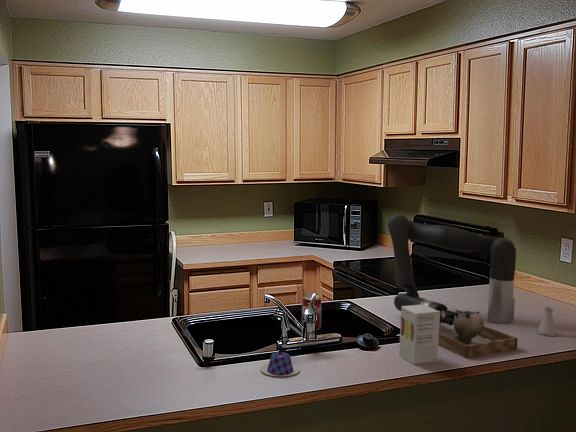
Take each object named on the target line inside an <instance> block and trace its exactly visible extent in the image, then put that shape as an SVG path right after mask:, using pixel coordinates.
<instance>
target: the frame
mask: <svg viewBox="0 0 576 432" xmlns="http://www.w3.org/2000/svg"><path fill="white" fill-rule="evenodd" d="M478 336H479V337H481V338H483V339H486V340H488V341H485V342H478V343H473V344H471V343H470V344H467V343H466V344H464V343H461V342H459V341H457V340H454V338H452V337H450V336H447V335H446V334H442V333H440V332H439V342H438V347H440V348H443V349H445V350H448V351H450V352H451V353H453V354H456V355H458V356H460V357H463V358H465V359H471V358H477V357H482V356H488V355H493V354H499V353H500V354H501V353H504V352H510V351H512V352H513V351H517V350H518V338H517V337H515V336H512V335H510V334H507V333H504V332H503V331H499V330H497V329H494V328H491V327H488V326H486V325H483V328H482V330H481V332H480V333H479V335H478Z"/></svg>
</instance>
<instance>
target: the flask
mask: <svg viewBox="0 0 576 432" xmlns="http://www.w3.org/2000/svg"><path fill="white" fill-rule="evenodd" d="M543 309H544V314H543V317H542V320H541V322H540V323H539V326H538V328H537V331H536V333H537V335H542V336H549V337H556V336H558V332H557V328H556V324H555V322H554V318H553V310H554V307H551V306H544V307H543Z"/></svg>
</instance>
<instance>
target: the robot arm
mask: <svg viewBox="0 0 576 432" xmlns="http://www.w3.org/2000/svg"><path fill="white" fill-rule="evenodd" d="M387 230H388V232H389V235H390V238H391V243H392V247H393V257H394V258H393V259H394V272H395V282H396V286H397V287H398V288H400V289H403V290H404V291H405V293H399V294H396V296H395V297H394V300H393V305H394V307H395V308H396V310H398V311H399V312H401V306H411V305H423V304H424V305H426V306H428V307H431V308H433V309H435V310H437V311H440V323H439V325H440V324H442V325H443V324H446V325H449V326H454V325H453V321H454V320H455V319H456V318H457V316H458V314H462V313H464V312H465V311H462V310H458V309H456V310H451V309H449V308H448V306H447V305H445V304H443V303H440V302H437V301H434V300H432V299H431V300H429V299H428V298H427V299H426V298H423V297H420V295H419V292H418V290H417V286H416V284H415V280H414V272H413V264H412V260H411V255H410V248H409V247H410V246H409V241H417V242H421V243H425V244H428V245H431V246H434V247H438V248H442V249H445V250H450V251H454V252H463V253H464V252H467V253H468V252H469V253H480V254H483V255H487V256H489V257H490V266H489V283H488V284H489V285H488V286H489V288H488V305H487V320H488V321H489V322H491V323H496V324H501V325H502V324H511V323H513V322H514V320H515V302H516V298H515V297H514V287H515V274H516V262H517V261H516V260H517V248H516V246H515V243H514V242H513V241H512V240H511V239H509V238H507V237H498V236H490V235H483V234H479V233H475V232H471V231H468V230H464V229H463V228H462V229H461V228H457V227H453V226H450V225H442V224H441V225H440V224H424V223H420V222H419V223H418V222H416V221H412V220H410V219H408V218H407V217H406V216H405V215H403V214H399V213H397V214H394V215H392V216H391V217H390V218H389V219H388V222H387Z"/></svg>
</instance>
